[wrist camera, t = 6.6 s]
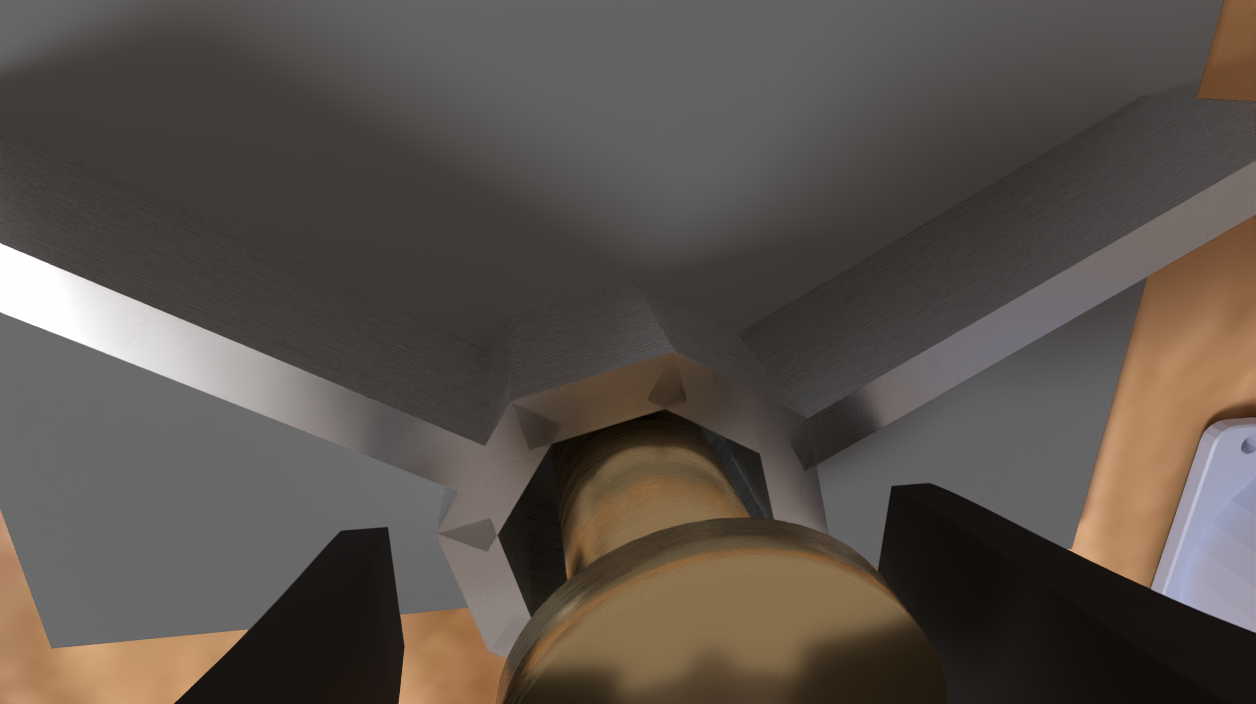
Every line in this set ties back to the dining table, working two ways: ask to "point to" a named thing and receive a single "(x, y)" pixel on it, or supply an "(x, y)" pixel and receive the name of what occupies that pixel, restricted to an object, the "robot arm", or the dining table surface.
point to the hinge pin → (703, 592)
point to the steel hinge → (617, 329)
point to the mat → (533, 241)
